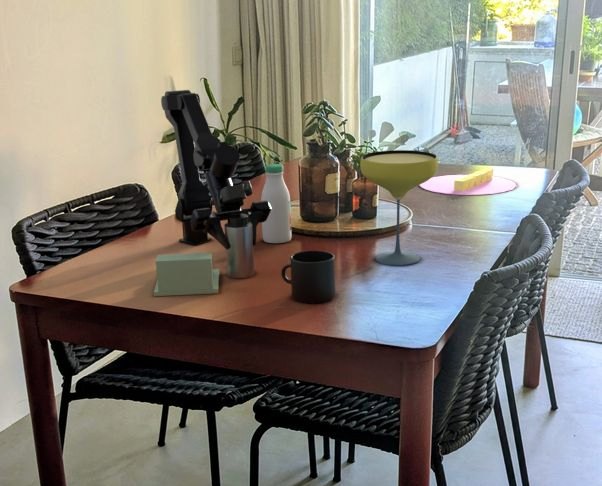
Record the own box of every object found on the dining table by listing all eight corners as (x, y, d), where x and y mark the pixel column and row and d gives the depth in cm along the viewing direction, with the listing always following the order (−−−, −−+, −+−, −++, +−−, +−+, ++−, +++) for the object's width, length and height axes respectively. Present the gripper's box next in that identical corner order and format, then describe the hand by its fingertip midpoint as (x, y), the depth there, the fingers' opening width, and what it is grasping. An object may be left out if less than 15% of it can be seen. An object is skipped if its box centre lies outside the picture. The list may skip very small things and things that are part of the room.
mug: (290, 286, 193) (289, 247, 190) (341, 291, 189) (340, 252, 186) (274, 300, 185) (272, 259, 182) (326, 305, 181) (325, 264, 178)
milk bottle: (288, 244, 226) (285, 168, 219) (259, 243, 228) (256, 167, 220) (294, 236, 233) (292, 162, 226) (266, 236, 235) (263, 162, 227)
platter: (531, 180, 292) (532, 170, 291) (491, 199, 268) (492, 188, 267) (446, 172, 310) (446, 162, 309) (401, 188, 286) (402, 178, 285)
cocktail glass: (348, 255, 216) (347, 154, 206) (411, 245, 222) (413, 147, 213) (382, 274, 200) (383, 166, 191) (449, 263, 206) (453, 158, 197)
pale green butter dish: (159, 275, 204) (156, 242, 201) (219, 273, 204) (217, 240, 202) (154, 296, 190) (150, 261, 187) (218, 293, 191) (215, 258, 188)
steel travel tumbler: (221, 275, 203) (218, 216, 198) (241, 268, 207) (238, 211, 202) (240, 280, 199) (237, 220, 194) (260, 273, 203) (257, 215, 198)
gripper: (190, 174, 194) (209, 233, 189) (266, 166, 201) (287, 222, 196) (182, 202, 204) (200, 259, 198) (255, 193, 211) (275, 247, 206)
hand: (241, 246), depth 199 cm, fingers closed on steel travel tumbler, 6 cm apart
